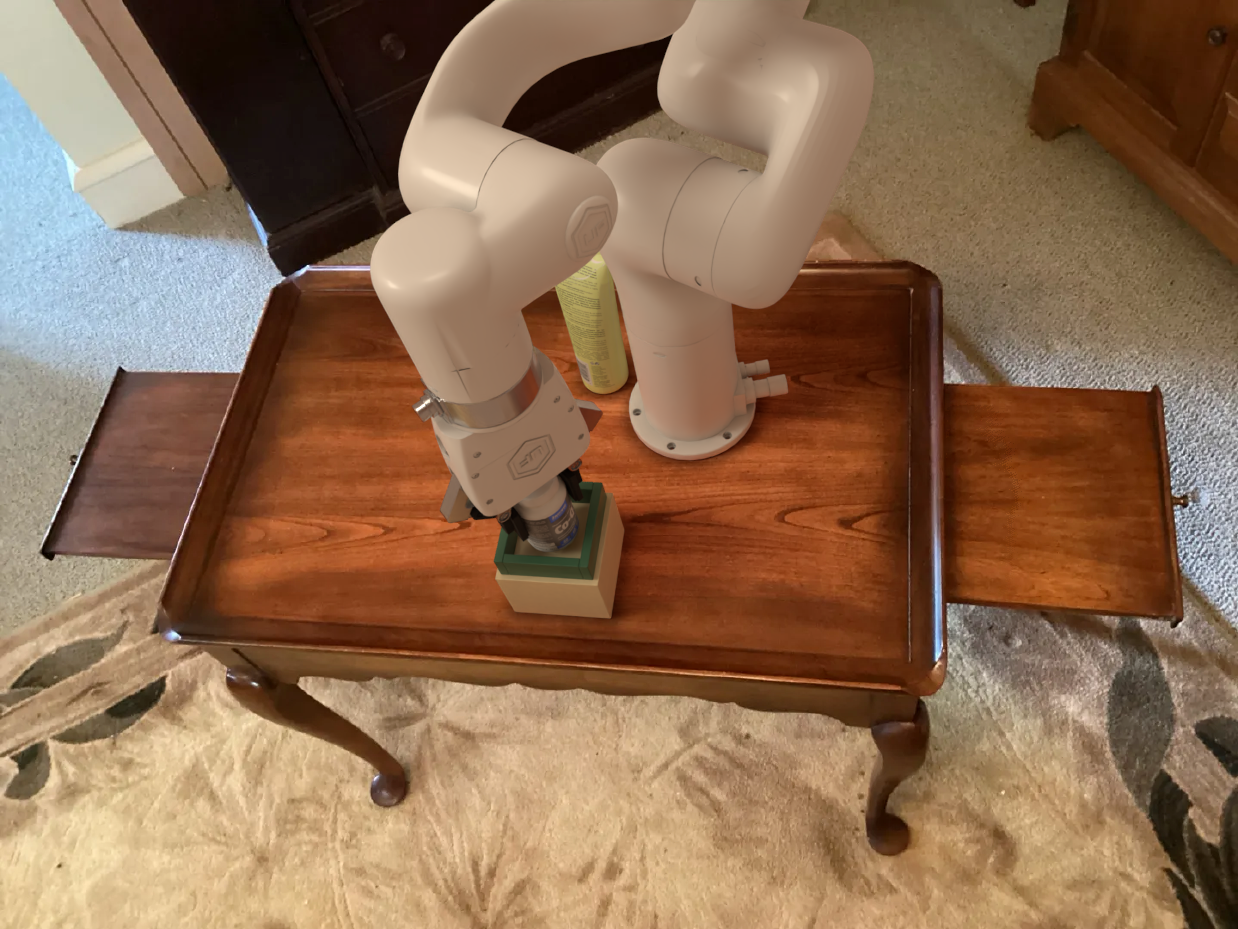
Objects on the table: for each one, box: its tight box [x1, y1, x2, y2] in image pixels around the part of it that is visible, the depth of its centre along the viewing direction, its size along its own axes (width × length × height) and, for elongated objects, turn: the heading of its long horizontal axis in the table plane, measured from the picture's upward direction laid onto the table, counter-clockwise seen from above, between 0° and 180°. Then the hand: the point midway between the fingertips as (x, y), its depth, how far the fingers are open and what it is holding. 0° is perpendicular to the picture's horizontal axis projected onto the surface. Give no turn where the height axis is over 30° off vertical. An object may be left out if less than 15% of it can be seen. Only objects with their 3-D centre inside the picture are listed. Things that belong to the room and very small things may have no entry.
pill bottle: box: [513, 475, 579, 552], centre depth 79 cm, size 5×5×8 cm
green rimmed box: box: [493, 480, 625, 619], centre depth 85 cm, size 9×9×10 cm
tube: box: [554, 252, 630, 395], centre depth 92 cm, size 6×5×20 cm
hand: (543, 507), depth 79 cm, fingers closed on pill bottle, 4 cm apart
